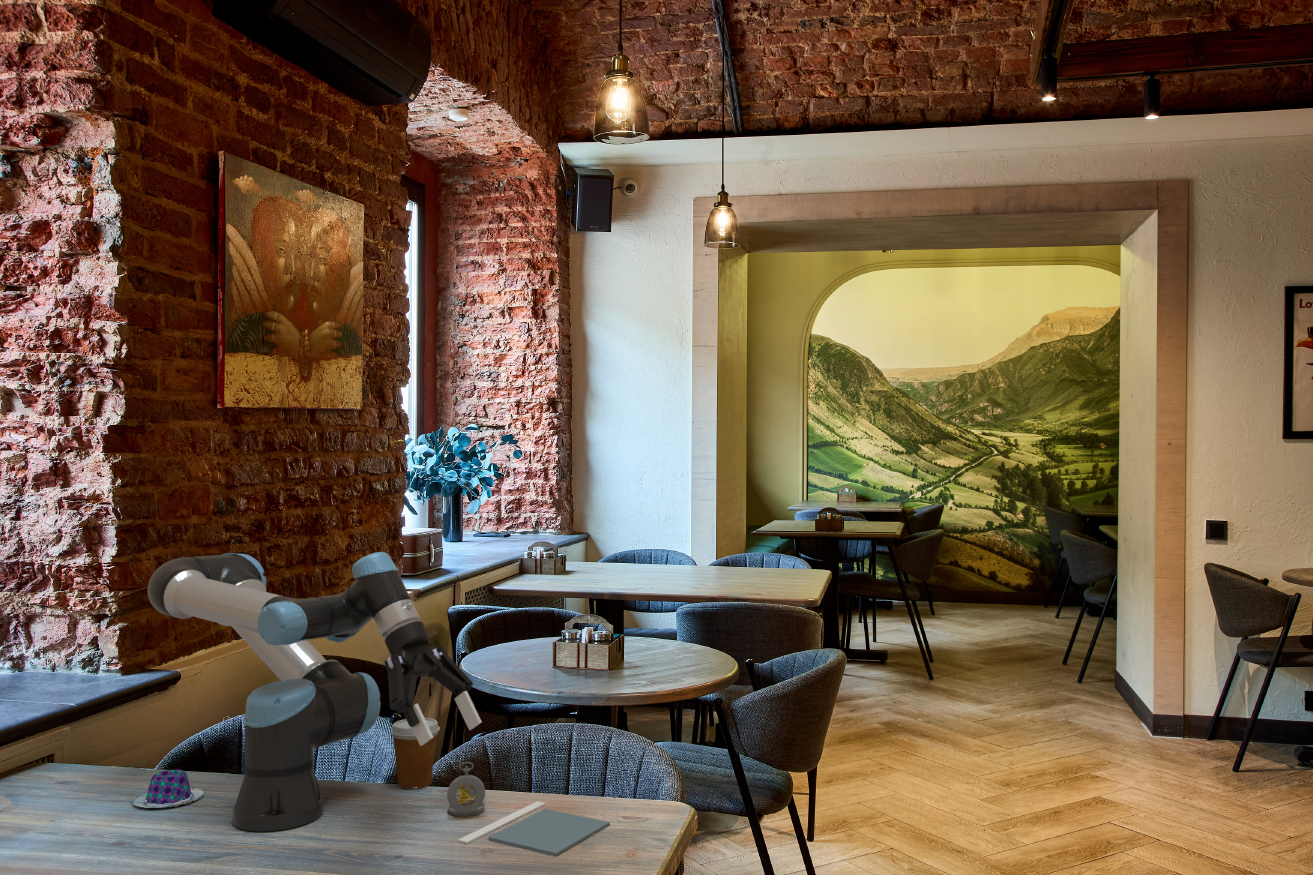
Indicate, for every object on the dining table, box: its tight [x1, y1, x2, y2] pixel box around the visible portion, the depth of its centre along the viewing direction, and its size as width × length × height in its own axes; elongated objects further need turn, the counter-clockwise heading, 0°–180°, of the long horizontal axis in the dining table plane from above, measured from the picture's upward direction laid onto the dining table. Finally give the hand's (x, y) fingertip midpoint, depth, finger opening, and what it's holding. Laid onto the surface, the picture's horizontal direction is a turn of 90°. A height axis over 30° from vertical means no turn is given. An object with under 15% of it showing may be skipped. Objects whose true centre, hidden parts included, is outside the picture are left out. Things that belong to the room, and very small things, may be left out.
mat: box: [487, 808, 611, 857], centre depth 164 cm, size 14×16×1 cm
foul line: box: [457, 801, 547, 845], centre depth 169 cm, size 2×22×1 cm, turn 151°
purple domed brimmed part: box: [145, 769, 203, 807], centre depth 181 cm, size 12×12×5 cm
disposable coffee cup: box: [390, 717, 441, 790], centre depth 190 cm, size 10×10×12 cm
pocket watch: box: [446, 761, 486, 817], centre depth 173 cm, size 8×8×10 cm
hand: (452, 733), depth 169 cm, fingers open, 13 cm apart
